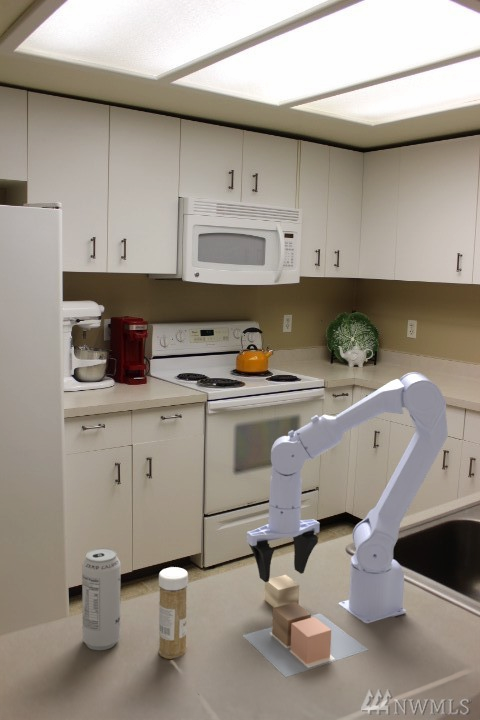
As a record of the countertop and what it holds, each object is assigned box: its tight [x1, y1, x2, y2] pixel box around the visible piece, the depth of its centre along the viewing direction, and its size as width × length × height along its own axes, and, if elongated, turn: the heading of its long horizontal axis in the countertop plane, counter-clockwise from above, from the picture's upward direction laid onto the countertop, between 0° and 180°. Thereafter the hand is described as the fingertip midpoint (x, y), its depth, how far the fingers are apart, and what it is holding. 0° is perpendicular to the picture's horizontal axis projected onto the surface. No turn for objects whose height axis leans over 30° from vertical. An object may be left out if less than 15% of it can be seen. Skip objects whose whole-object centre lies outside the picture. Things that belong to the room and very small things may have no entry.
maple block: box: [264, 574, 300, 608], centre depth 123 cm, size 4×4×4 cm
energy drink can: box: [81, 547, 122, 651], centre depth 108 cm, size 6×6×15 cm
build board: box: [242, 613, 369, 678], centre depth 110 cm, size 16×13×1 cm
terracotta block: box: [290, 617, 331, 664], centre depth 106 cm, size 4×4×4 cm
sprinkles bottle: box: [158, 566, 189, 660], centre depth 106 cm, size 5×5×13 cm
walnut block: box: [271, 602, 312, 647], centre depth 111 cm, size 4×4×4 cm
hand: (281, 575), depth 122 cm, fingers open, 7 cm apart
